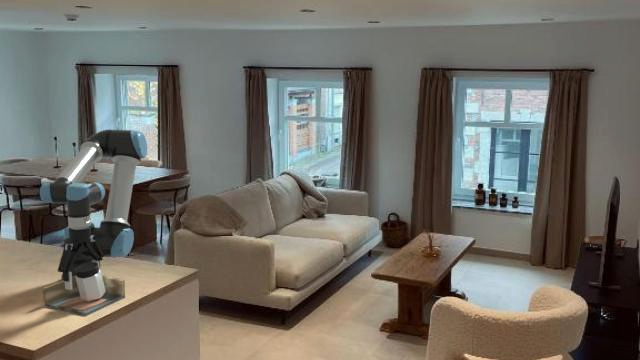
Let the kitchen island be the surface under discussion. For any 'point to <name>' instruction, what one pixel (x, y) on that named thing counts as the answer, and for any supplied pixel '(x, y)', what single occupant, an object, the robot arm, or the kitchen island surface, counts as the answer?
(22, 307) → the kitchen island surface
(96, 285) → the jar
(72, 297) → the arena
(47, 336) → the kitchen island surface
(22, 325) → the kitchen island surface
